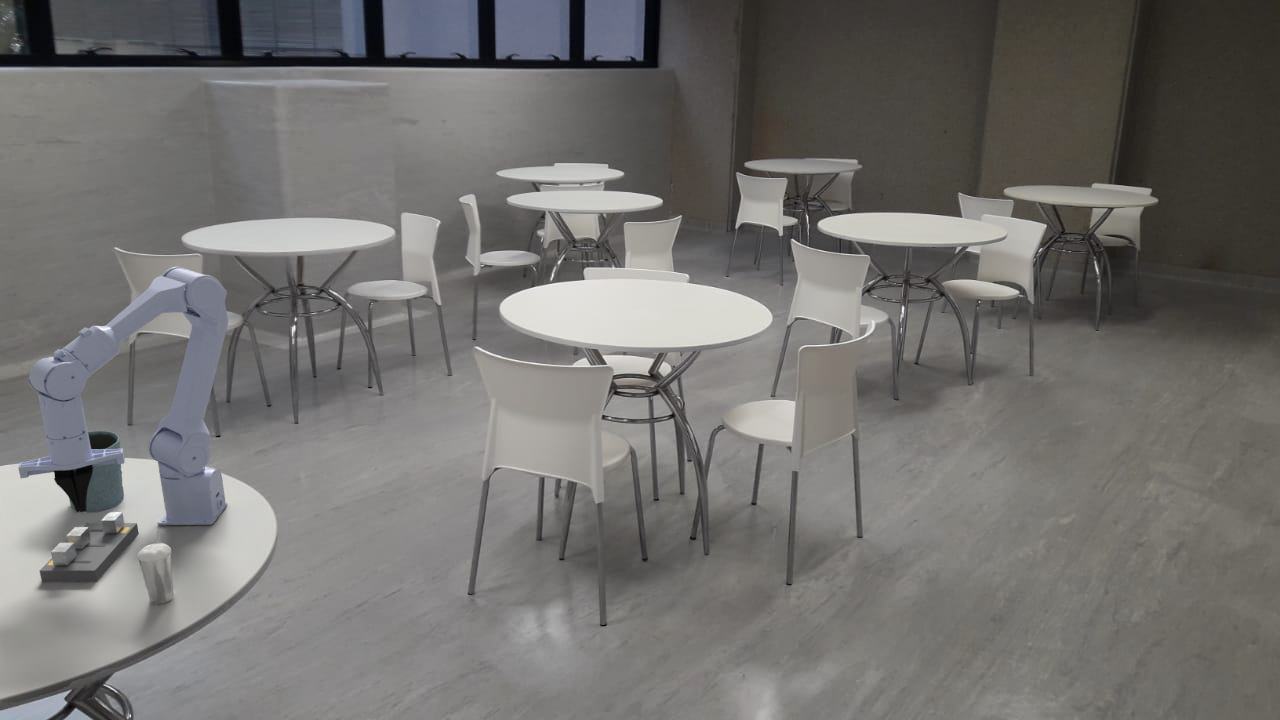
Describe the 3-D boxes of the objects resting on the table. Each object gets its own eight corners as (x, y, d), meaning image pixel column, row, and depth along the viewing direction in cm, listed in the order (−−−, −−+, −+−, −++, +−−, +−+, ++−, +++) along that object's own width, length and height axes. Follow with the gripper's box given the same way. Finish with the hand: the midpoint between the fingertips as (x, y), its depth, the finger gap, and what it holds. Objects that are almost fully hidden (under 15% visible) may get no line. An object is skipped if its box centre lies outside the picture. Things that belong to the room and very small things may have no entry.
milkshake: (183, 586, 155) (173, 530, 152) (174, 605, 150) (164, 548, 147) (152, 588, 155) (142, 532, 151) (141, 608, 150) (131, 550, 146)
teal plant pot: (87, 488, 186) (76, 429, 182) (140, 490, 185) (130, 431, 181) (55, 514, 176) (42, 453, 172) (111, 516, 176) (100, 455, 172)
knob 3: (124, 524, 169) (122, 512, 168) (117, 533, 166) (114, 520, 165) (111, 524, 168) (109, 512, 168) (103, 533, 166) (101, 520, 165)
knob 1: (76, 555, 159) (73, 542, 158) (67, 565, 156) (65, 551, 156) (62, 555, 159) (59, 542, 158) (53, 565, 156) (50, 551, 155)
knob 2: (91, 539, 164) (88, 527, 163) (82, 548, 161) (80, 535, 160) (77, 539, 164) (74, 527, 163) (68, 548, 161) (66, 535, 160)
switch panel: (138, 533, 170) (136, 522, 170) (97, 581, 156) (94, 570, 156) (88, 533, 170) (86, 522, 169) (41, 581, 156) (39, 570, 155)
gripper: (119, 416, 162) (132, 490, 167) (17, 429, 157) (33, 505, 161) (117, 432, 156) (130, 509, 161) (10, 446, 151) (27, 526, 155)
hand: (81, 509), depth 161 cm, fingers closed
